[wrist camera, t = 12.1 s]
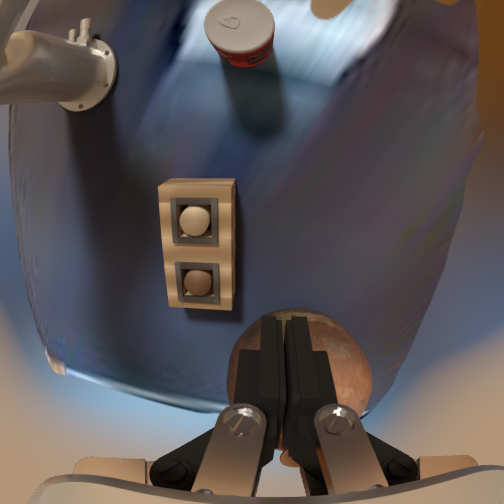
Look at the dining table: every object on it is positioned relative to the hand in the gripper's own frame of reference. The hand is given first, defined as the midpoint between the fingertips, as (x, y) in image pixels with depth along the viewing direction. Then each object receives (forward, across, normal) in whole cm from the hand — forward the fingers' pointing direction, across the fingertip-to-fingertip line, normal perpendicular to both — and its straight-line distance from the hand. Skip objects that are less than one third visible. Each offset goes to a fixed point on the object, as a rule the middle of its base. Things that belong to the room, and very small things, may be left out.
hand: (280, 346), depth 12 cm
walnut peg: (+37, +10, +15) cm, 41 cm away
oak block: (+37, +10, +10) cm, 40 cm away
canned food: (+37, +4, -20) cm, 43 cm away
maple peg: (+37, +10, +5) cm, 39 cm away
